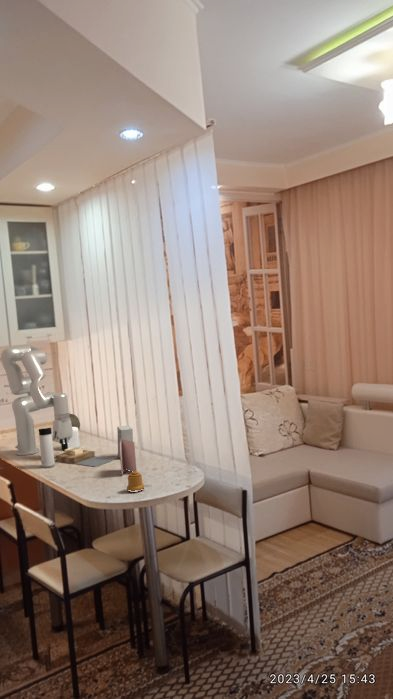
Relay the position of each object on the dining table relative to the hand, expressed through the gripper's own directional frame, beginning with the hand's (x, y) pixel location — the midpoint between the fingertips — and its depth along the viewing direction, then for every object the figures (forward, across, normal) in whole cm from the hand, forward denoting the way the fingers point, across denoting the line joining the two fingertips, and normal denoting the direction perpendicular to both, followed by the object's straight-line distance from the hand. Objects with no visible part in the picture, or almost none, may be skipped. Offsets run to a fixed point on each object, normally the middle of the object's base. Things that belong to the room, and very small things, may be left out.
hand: (65, 450), depth 309 cm
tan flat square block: (+4, 0, +8) cm, 9 cm away
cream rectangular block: (+1, 0, +7) cm, 7 cm away
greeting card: (+4, +7, +52) cm, 52 cm away
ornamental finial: (+4, +26, +73) cm, 77 cm away
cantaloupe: (+4, -33, -33) cm, 47 cm away
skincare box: (+4, -13, +32) cm, 35 cm away
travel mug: (+4, +16, +5) cm, 17 cm away
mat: (+4, 0, +22) cm, 23 cm away
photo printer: (+4, -15, -12) cm, 20 cm away
